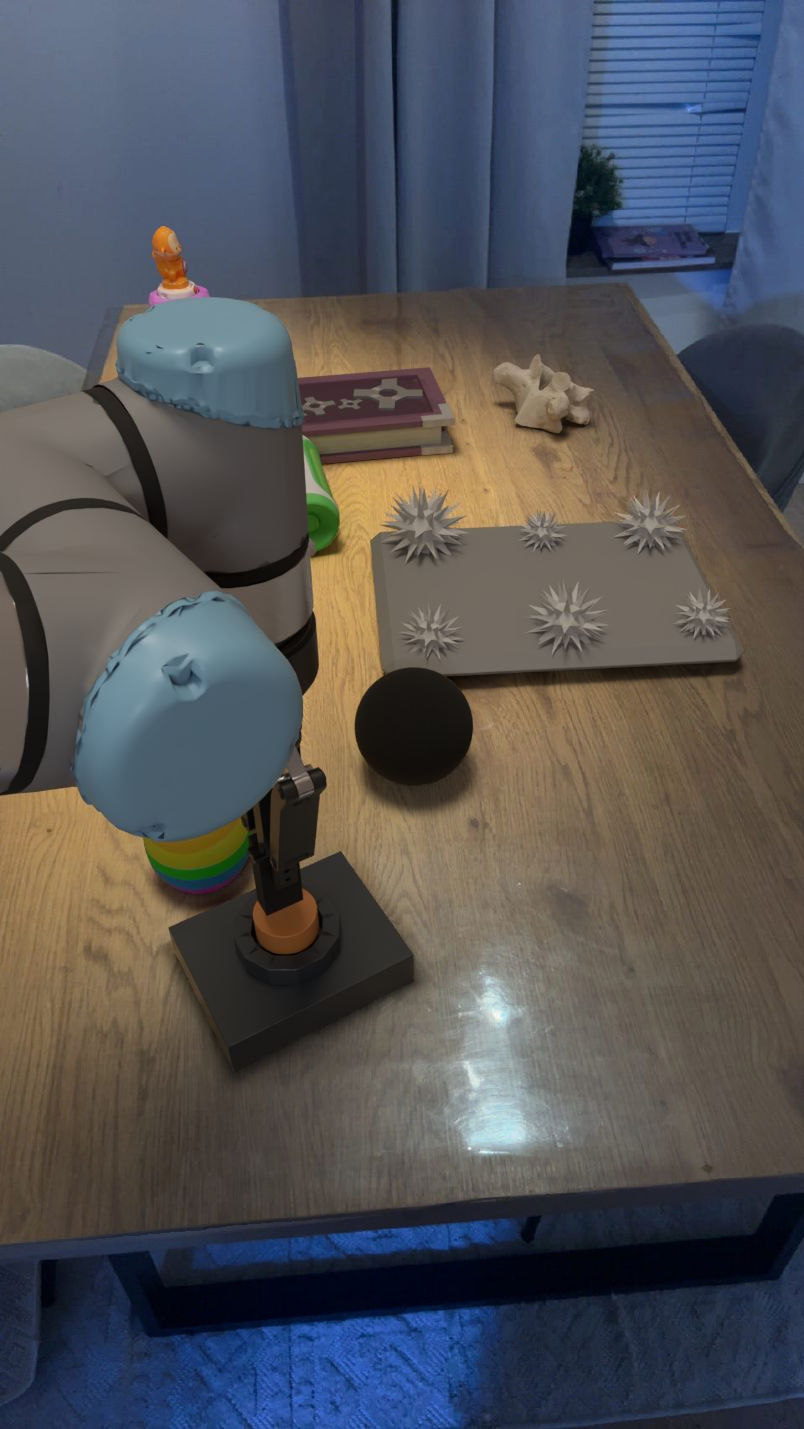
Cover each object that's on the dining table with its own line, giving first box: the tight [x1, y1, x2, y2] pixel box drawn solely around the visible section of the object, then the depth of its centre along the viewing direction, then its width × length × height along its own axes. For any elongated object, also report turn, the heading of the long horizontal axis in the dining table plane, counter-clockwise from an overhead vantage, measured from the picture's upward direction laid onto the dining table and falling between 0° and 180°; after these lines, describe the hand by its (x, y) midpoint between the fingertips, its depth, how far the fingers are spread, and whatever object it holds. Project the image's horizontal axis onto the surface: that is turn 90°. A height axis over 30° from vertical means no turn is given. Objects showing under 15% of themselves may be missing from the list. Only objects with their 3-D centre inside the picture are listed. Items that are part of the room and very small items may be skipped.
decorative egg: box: [142, 817, 251, 895], centre depth 77 cm, size 8×8×10 cm
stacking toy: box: [148, 225, 211, 308], centre depth 137 cm, size 14×13×23 cm
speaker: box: [303, 435, 341, 552], centre depth 118 cm, size 18×7×8 cm, turn 13°
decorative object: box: [491, 353, 595, 434], centre depth 136 cm, size 9×14×8 cm, turn 47°
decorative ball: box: [354, 667, 474, 787], centre depth 85 cm, size 10×10×10 cm
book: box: [298, 366, 456, 465], centre depth 134 cm, size 25×16×5 cm, turn 100°
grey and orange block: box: [167, 850, 415, 1073], centre depth 72 cm, size 14×11×5 cm
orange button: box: [253, 889, 319, 955], centre depth 70 cm, size 4×4×2 cm
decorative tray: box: [369, 482, 745, 678], centre depth 103 cm, size 35×26×10 cm
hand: (280, 899), depth 68 cm, fingers closed
